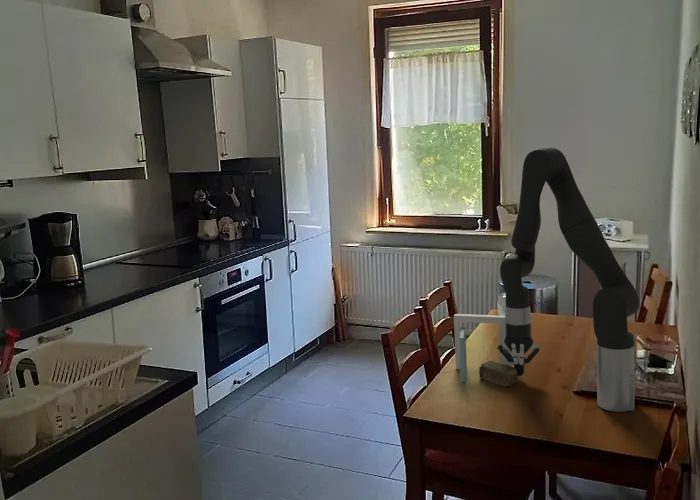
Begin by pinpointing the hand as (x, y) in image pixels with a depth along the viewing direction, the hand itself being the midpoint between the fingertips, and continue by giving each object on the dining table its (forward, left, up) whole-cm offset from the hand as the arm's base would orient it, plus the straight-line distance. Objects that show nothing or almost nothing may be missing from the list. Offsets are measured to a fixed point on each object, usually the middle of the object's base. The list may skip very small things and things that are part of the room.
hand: (519, 375), depth 196 cm
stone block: (+6, +2, -2) cm, 7 cm away
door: (+17, 0, -1) cm, 17 cm away
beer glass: (+11, -48, -2) cm, 49 cm away
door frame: (+13, -7, -2) cm, 15 cm away
